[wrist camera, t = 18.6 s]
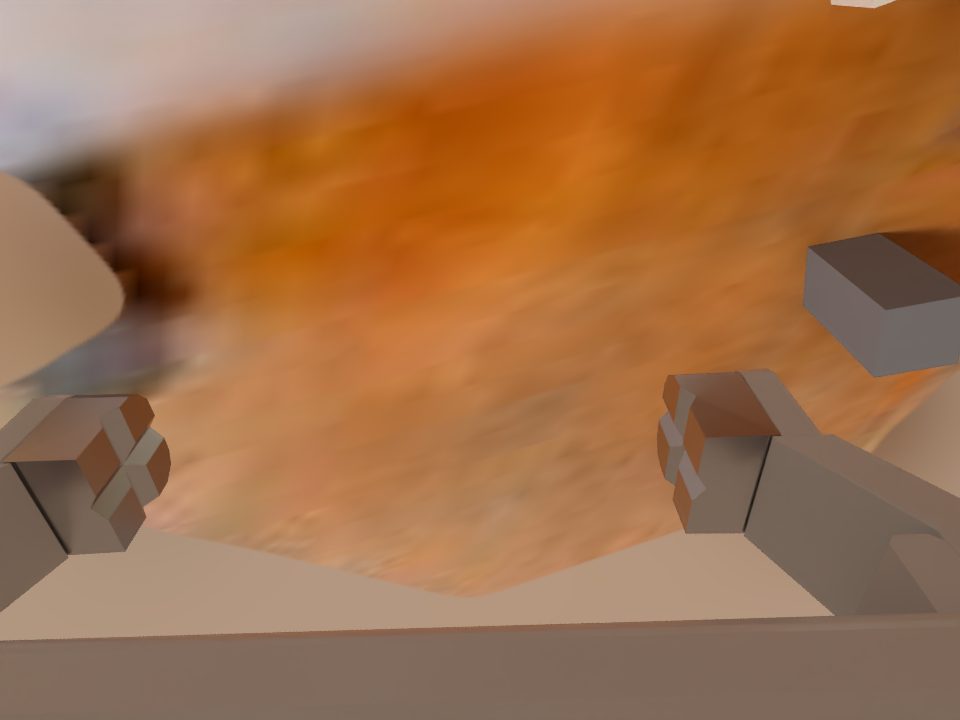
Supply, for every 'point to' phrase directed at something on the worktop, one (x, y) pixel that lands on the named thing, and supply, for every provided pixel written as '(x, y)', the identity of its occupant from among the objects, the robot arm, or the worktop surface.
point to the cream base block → (861, 3)
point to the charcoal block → (884, 304)
